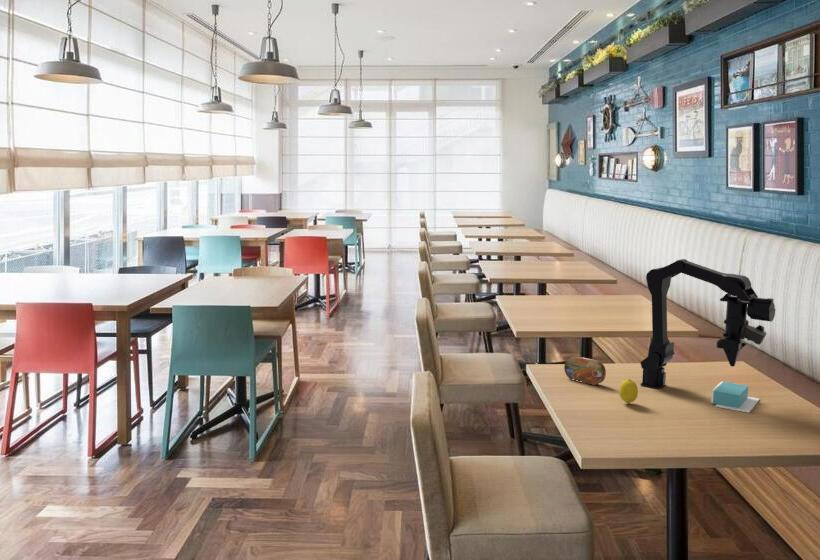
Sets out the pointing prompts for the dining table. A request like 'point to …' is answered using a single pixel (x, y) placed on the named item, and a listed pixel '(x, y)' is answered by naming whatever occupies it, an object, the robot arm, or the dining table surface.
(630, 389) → the lemon
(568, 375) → the tin
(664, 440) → the dining table surface
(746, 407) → the mat
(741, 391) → the teal block
